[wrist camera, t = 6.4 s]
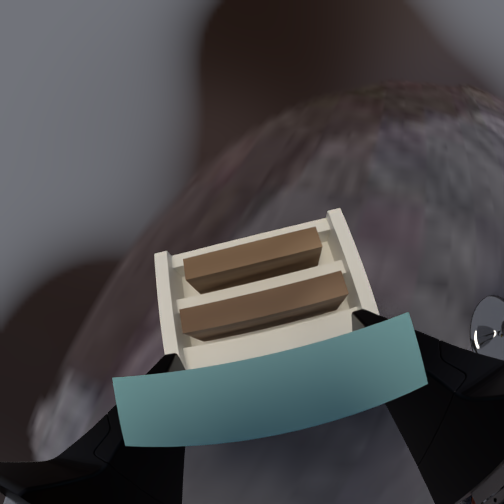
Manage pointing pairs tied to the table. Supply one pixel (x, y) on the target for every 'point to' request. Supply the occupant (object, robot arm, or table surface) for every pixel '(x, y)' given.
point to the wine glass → (488, 327)
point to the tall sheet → (272, 389)
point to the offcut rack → (275, 338)
